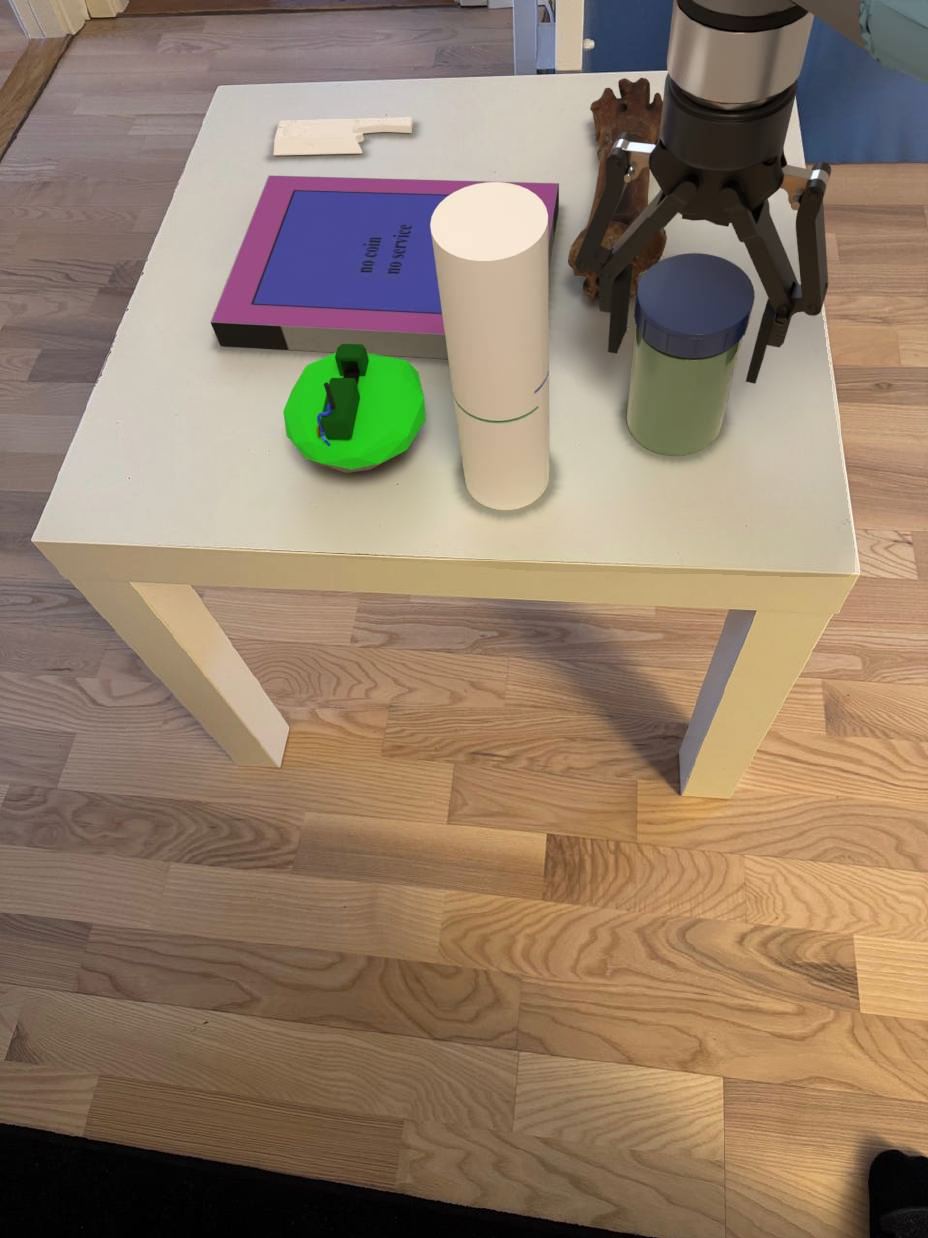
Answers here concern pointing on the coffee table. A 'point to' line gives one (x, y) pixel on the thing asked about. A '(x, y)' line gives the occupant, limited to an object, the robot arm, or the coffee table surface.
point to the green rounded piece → (355, 409)
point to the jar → (678, 398)
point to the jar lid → (693, 305)
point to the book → (344, 266)
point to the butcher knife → (332, 134)
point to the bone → (645, 127)
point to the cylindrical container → (497, 336)
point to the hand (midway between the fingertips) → (684, 355)
